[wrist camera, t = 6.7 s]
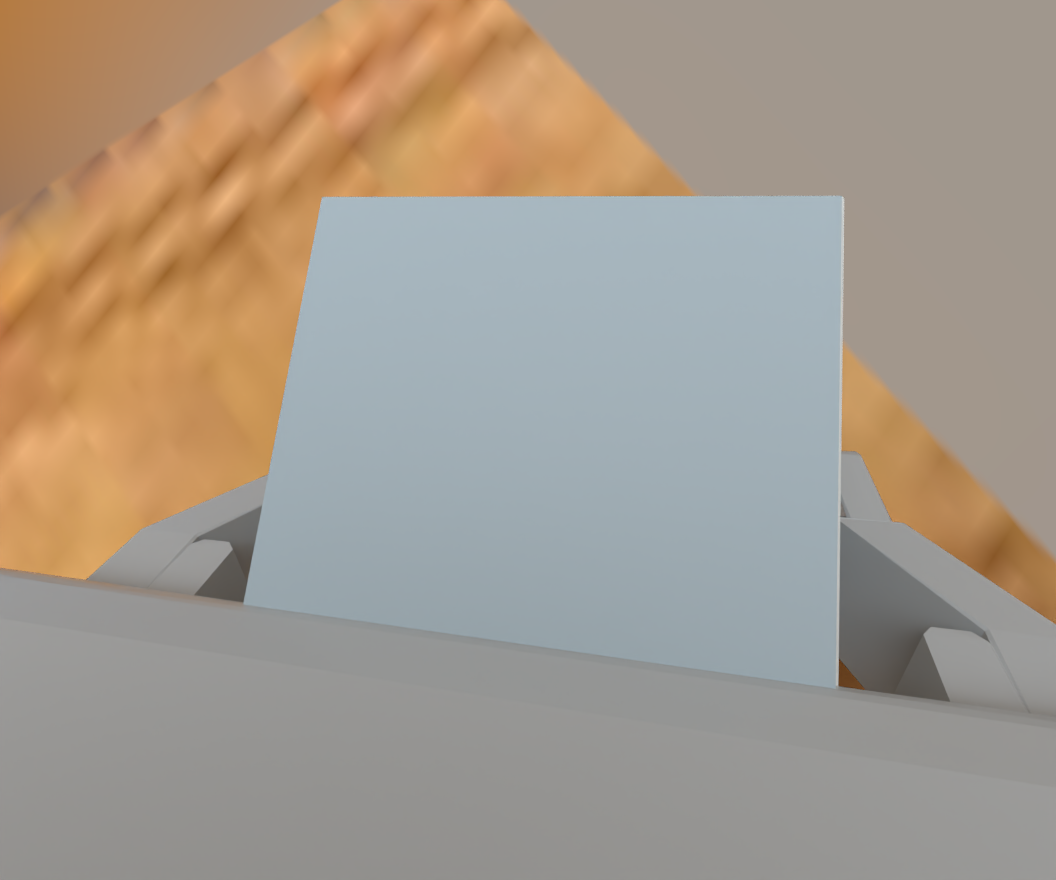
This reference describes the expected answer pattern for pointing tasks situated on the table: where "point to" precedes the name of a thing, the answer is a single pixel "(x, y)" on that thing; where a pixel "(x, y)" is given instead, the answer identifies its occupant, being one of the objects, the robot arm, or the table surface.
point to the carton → (569, 427)
